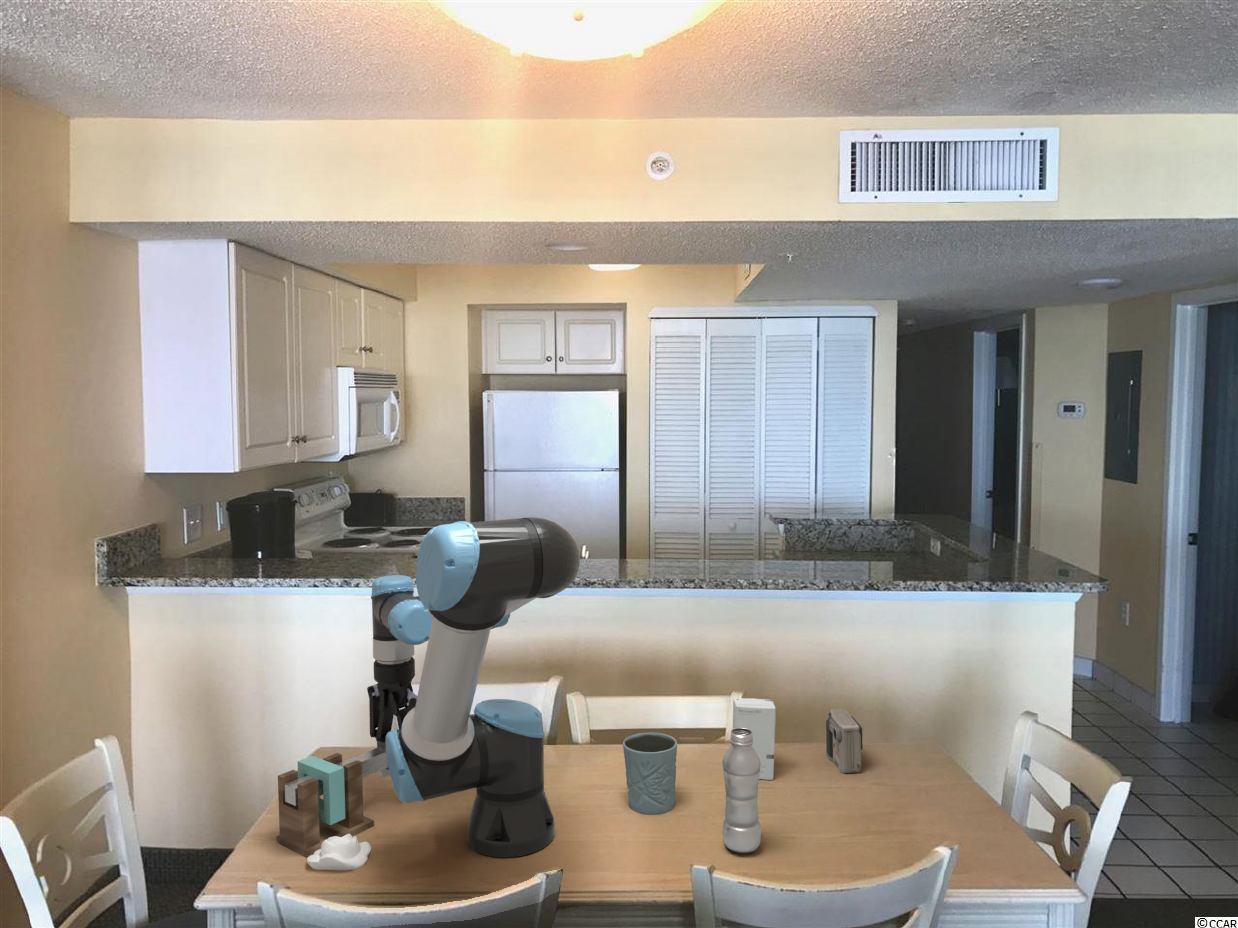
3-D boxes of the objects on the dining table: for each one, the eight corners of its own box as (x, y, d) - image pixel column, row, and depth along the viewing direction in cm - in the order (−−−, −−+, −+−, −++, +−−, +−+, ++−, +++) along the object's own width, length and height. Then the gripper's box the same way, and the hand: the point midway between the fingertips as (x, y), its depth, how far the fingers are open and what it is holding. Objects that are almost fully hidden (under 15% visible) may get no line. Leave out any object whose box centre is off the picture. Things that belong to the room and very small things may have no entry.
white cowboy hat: (317, 857, 136) (298, 832, 144) (317, 884, 136) (299, 858, 144) (378, 837, 142) (357, 815, 150) (379, 864, 142) (358, 840, 150)
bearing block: (307, 857, 144) (305, 787, 143) (276, 842, 149) (274, 774, 148) (374, 825, 155) (372, 760, 154) (342, 812, 160) (341, 748, 159)
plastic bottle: (732, 860, 142) (732, 741, 141) (716, 841, 148) (715, 726, 147) (768, 854, 144) (768, 736, 142) (750, 835, 150) (750, 722, 149)
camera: (823, 752, 186) (824, 707, 185) (850, 752, 186) (851, 706, 185) (836, 775, 175) (837, 726, 174) (865, 775, 175) (865, 726, 174)
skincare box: (733, 779, 173) (733, 706, 172) (731, 767, 179) (731, 696, 178) (775, 780, 172) (776, 707, 171) (772, 767, 178) (772, 697, 177)
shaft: (299, 813, 145) (298, 784, 144) (282, 805, 148) (281, 776, 147) (415, 763, 165) (415, 737, 165) (398, 757, 168) (397, 732, 167)
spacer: (330, 825, 147) (328, 773, 147) (299, 811, 153) (297, 761, 152) (345, 818, 150) (343, 767, 149) (313, 804, 155) (312, 755, 154)
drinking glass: (679, 816, 157) (679, 751, 157) (623, 817, 157) (623, 752, 157) (675, 791, 168) (675, 731, 167) (623, 792, 168) (622, 731, 167)
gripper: (442, 661, 161) (444, 783, 162) (379, 646, 171) (382, 761, 173) (410, 671, 155) (413, 798, 156) (347, 655, 165) (350, 774, 167)
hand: (397, 778), depth 164 cm, fingers closed on shaft, 5 cm apart
